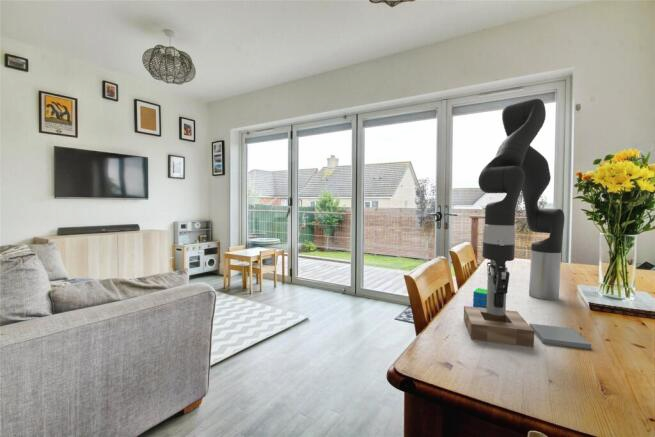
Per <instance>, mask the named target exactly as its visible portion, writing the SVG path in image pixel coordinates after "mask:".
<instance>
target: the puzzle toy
mask: <svg viewBox="0 0 655 437" xmlns="http://www.w3.org/2000/svg"><path fill="white" fill-rule="evenodd" d="M472 307H478V308H486V307H487V289H486V288H480V287H478V288H476V289H475V290H474V291H473V298H472Z"/></svg>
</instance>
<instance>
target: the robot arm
mask: <svg viewBox="0 0 655 437" xmlns="http://www.w3.org/2000/svg"><path fill="white" fill-rule="evenodd" d="M546 116H547V114H546V107H545V103H544V101H543V100H542V99H541V98H530V99H527V100H524V101H520V102H516V103H515V102H514V103H512V104H508V105H506V106H505V107H504V108H503V109H502V113H501V117H502V118H501V120H502V124H503V129H504V132H505V134H506V138H505V139H504V140H503V141H502V142H501V144H500V145H499V147H498V150H497V152H496V154H495V156H494V157H493V158H492V159H491V160H490V161H489V162H488V163H487V164H486V165H485V166H484V167H483V169H482V170H481V171H480V174H479V176H478V181H477V182H478V187H479V189H480V190H481V191H482V192H484V193H486V194H506V195H505V197H504V198H502V200H499V201H498V200H497V201H494V202H489V203H487V204H486V205H485V209H484V228H483V233H482V235H483V236H482V253H481V254H482V257H483V259H485V260H490V261H487V264H486V266H487V275H488V274H491V282H492V284H493V285H494V303H493V305H494V307H498V308H503V304H504V294H505V293H506V295H507V294H508V287H509V283H510V282H509V281H510V272H509V271H508V267H507V266H506V262H512V261H514V260H515V255H516V254H515V250H516V249H515V248H516V228H515V225H516V223H515V222H516V209H517V204H518V201H519V198H520V195H521V192H522V197H523V202H524V207H525V208H524V209H525V216H526V223H527V227H528V229H529V230H530V231H531V232H534V233H541V234H549V237H547V238H545V239H543V240H539V241H534V242H532V243H531V244H530V263H529V264H530V266H529V267H530V269H529V285H528V286H529V289H528V295H529V296H531V297H533V298H537V299H542V300H547V301H555V300H556V301H557V300H559V299H560V284H561V283H560V281H561V264H562V263H561V262H562V246H563V235H564V228H565V213H564V210H563V209H561V208H553V207H552V208H550V207H549V208H545V207H544V208H543V207H541V208H540V207H539V205H538V203H539V200H540V198H541V197H542V194H543V193H544V192H545V190H546V189H547V187H548V186H549V184H550V182H551V178H552V177H551V172H550V166H549V162H548V160H547V158H546V157H545V156H544V155H543V154H542V153H541V152H540V151H538V150H536V149H535V148H534V147H533V146H531V143H533V141H534V140H535V138H536V137H537V135H538V134H539V132H540V131H541V129H542V127H543V126H544V124H545V120H546ZM494 277H495V279H497V281H495V279H494ZM486 280H487V281H486V282H487V283H488V279H486ZM500 285H502V288H499V286H500Z"/></svg>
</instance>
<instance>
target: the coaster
mask: <svg viewBox="0 0 655 437" xmlns="http://www.w3.org/2000/svg"><path fill="white" fill-rule="evenodd" d="M529 325H530V327H531V328H532V329H533V330H534V336H536V337H537V338H538V339H539V341H541V343H542V344H545V345H553V346H562V347H570V348H571V347H572V348H578V349H586V350H592V343H591V342H590V341H588V340H587V339H586V338H584V337H583V336H582V335H581V334H579V333H578V332H577V331H576V330H575V329H574V328H573V327H564V326H555V325H546V324H536V323H529Z"/></svg>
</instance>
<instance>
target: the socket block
mask: <svg viewBox="0 0 655 437" xmlns="http://www.w3.org/2000/svg"><path fill="white" fill-rule="evenodd" d="M463 321H464V324H465V327H466V329H467V332H468V334H469V338H470V340H478V341H483V342H491V343H498V344H499V343H501V344H509V345H514V344H515V346H524V347H531V348H534V346H535V345H534V344H535V333H534V330H533V329H532V328H531V327H530V323H528V322H527V321H526V320H525V319H524V317H522V315H521V314H520V313H519V312H518V311H517V310H507V309H506V310H505V315H502V316H498V315H492V314H490V313H488V312H487V311H486V308H478V307H473V306H468V305H467V306H466V305H464V306H463Z"/></svg>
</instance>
